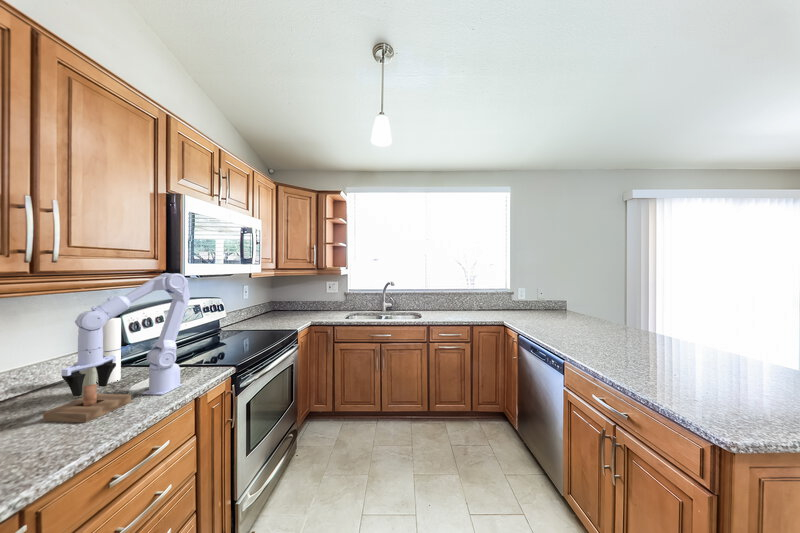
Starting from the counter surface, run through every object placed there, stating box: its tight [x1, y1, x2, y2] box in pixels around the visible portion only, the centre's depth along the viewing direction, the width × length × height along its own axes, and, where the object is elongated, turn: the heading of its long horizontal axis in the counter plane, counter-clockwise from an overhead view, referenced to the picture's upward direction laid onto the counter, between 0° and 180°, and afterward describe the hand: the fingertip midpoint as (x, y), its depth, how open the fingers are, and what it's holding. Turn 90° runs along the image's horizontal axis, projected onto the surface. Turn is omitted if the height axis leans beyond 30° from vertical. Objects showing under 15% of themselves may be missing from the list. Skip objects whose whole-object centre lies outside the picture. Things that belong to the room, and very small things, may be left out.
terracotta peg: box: [82, 383, 98, 407], centre depth 98 cm, size 3×3×8 cm
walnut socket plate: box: [42, 393, 132, 423], centre depth 98 cm, size 14×14×2 cm
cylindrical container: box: [96, 317, 122, 384], centre depth 125 cm, size 7×7×25 cm
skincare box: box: [72, 361, 97, 399], centre depth 111 cm, size 6×4×12 cm
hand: (90, 390), depth 98 cm, fingers open, 7 cm apart
